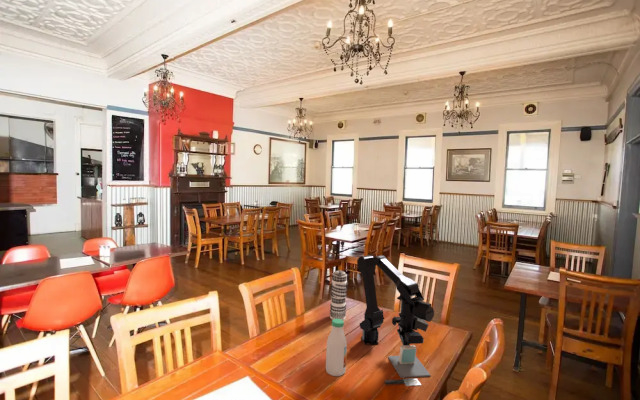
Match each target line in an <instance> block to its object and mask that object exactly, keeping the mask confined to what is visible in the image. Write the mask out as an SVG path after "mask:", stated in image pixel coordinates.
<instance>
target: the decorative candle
mask: <svg viewBox="0 0 640 400" xmlns="http://www.w3.org/2000/svg"><path fill="white" fill-rule="evenodd" d="M331 274H332V279H331V283H330V297H331V300H330V307H329V308H330V309H329V318H330V319H331V320H333V319H341V320H343V321H344V320H346V316H347V313H346V312H347V311H346V310H347V303H346V299H347V296H348V295H347V293H348V286H349V285H348V281H347V276H348V274H347V273H346V272H345V271H344V270H335V271H333V273H331Z"/></svg>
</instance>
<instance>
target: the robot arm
mask: <svg viewBox="0 0 640 400" xmlns="http://www.w3.org/2000/svg"><path fill="white" fill-rule="evenodd" d="M356 263H357V268H358V269H357V270H358V272H359V273H360V274H361V275H362V281H363V287H364V288H363V289H364V296H365V304H366V305H365V306H366V309H365V311H364V313H363V314H364V316H363V317H364V320H362V321H361V322H359V328H360V329H361V330H362V332H361V333H362V335H361V337H360V338H361V341H362V342H363V344H364V345H379V342H378V341H379V333H380V332H379V331H378V329H379V328H381V327H382V325H383V323H384V320H385V317H384V311H383V310H382V309H380V307H379V306H378V300H377V291H376V285H375V276H374V274H375V272H376V268H379V269H380V270H381V271H382V272H383V273H384V274H385V276H386V277H388V278H389V279H390V280H391V282H393V283H394V285H395V288H396V290H397V291H398V292H397V293H399V294H400V295H399V296H397V297H396V299H397V300H399V301H400V302H401V303H400V312H398V316H394V317H393V318H392V319H391V323H392V325H393V326H396V325H397V324H398V329H396V332H397V334H398V335H399V340H400V341H401V344H402V345H415V344H424V339H425V338H424V337H423V336H422V334H420V332H418V329H419V330H421V331H422V332H427V330H428V327H429V322H431V321H432V320H433V318H434V316H435V310H434V307H433V306H432V303H430V302H426V301H424V300H425V299H424V295H423V294H422V292H421V290H420V288H419V284H418V283H417V282H416V281H414V280H413V279H412V278H410V277H407V276H405V275H404V274H403V273H401V271H399V270H398V269H397V268H396V267H395V266H394V265H393V264H392V263H391V262H390V261H389V260H388V259H387V257H386V256H385V255H383V254H382V255H376V256H373V255H371V254H368V255H363V256H359V257H358V258H357V260H356ZM376 266H377V267H376ZM414 296H415V297H414Z"/></svg>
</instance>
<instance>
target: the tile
mask: <svg viewBox="0 0 640 400" xmlns="http://www.w3.org/2000/svg"><path fill="white" fill-rule="evenodd" d="M398 356H399V362H400V364H408V363H415V356H416V357H417V346H416V345H415V344H410V345H403V344H402V345H400V349H399V355H398Z"/></svg>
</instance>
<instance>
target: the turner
mask: <svg viewBox="0 0 640 400" xmlns="http://www.w3.org/2000/svg"><path fill="white" fill-rule="evenodd" d="M384 384H385V385H386V386H388V385H404V386H405V387H417V386H418V387H420V386H422V384H421V382H420V381H419V379H418V377H410V378H399V379H398V378H397V379H385V380H384Z"/></svg>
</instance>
